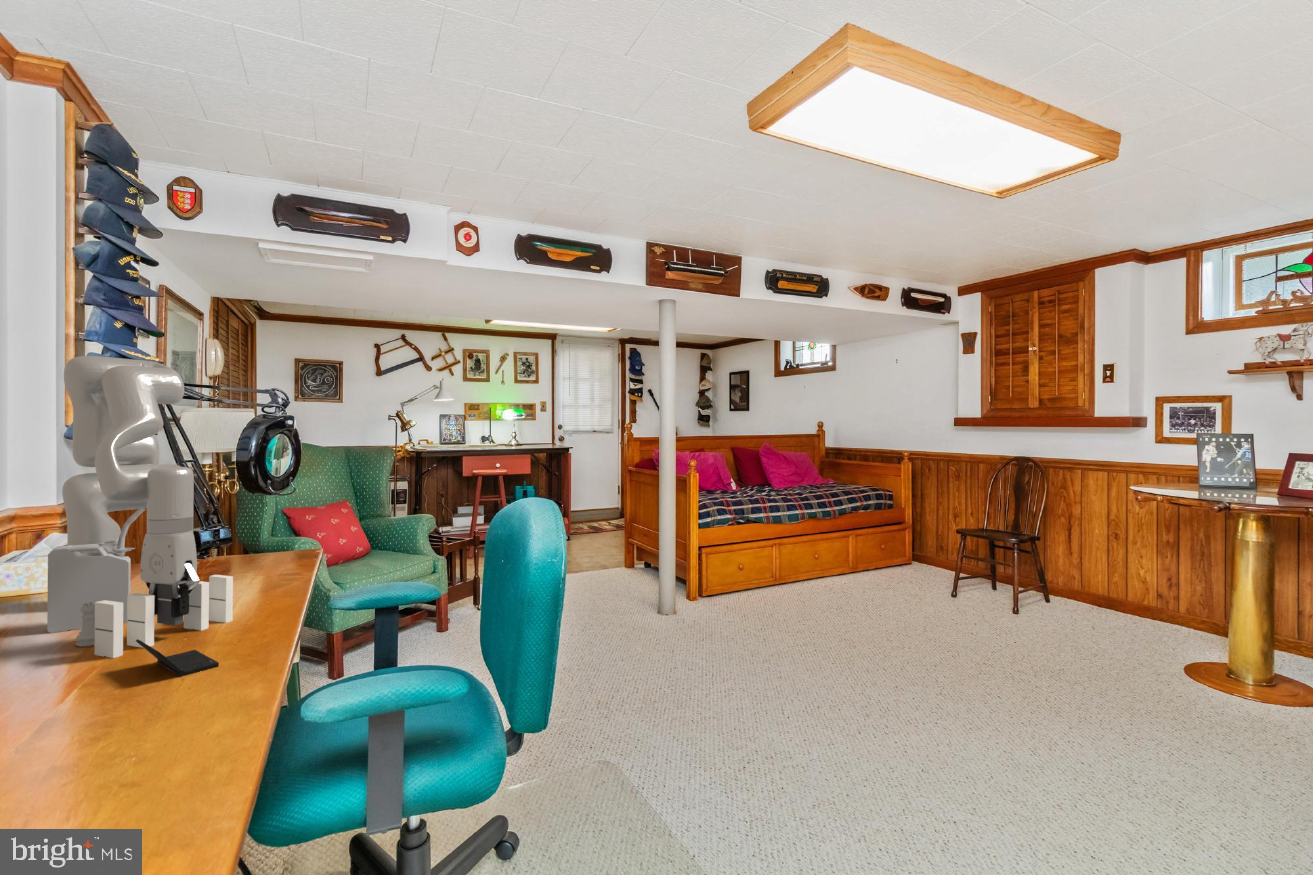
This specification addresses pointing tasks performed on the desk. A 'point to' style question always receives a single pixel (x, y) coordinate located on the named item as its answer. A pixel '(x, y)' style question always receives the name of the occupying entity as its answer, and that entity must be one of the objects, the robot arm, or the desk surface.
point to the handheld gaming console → (182, 661)
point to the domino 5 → (221, 598)
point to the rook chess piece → (87, 626)
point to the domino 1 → (109, 628)
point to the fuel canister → (87, 579)
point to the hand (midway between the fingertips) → (170, 613)
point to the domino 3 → (166, 605)
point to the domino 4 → (198, 608)
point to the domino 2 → (140, 619)
